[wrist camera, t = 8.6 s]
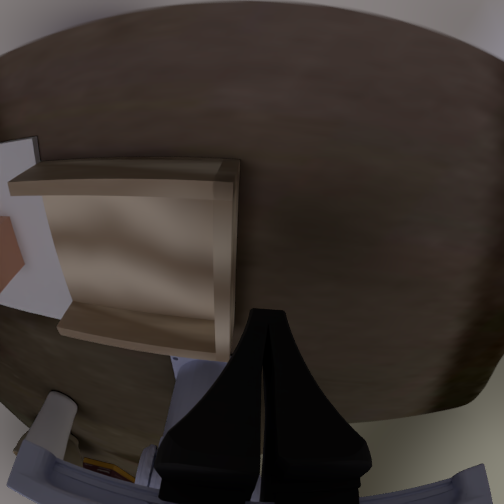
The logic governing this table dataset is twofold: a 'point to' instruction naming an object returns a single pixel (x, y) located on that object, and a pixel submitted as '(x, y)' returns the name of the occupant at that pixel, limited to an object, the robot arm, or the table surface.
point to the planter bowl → (71, 451)
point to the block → (8, 253)
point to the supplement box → (107, 470)
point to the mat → (30, 239)
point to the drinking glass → (53, 424)
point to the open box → (144, 249)
